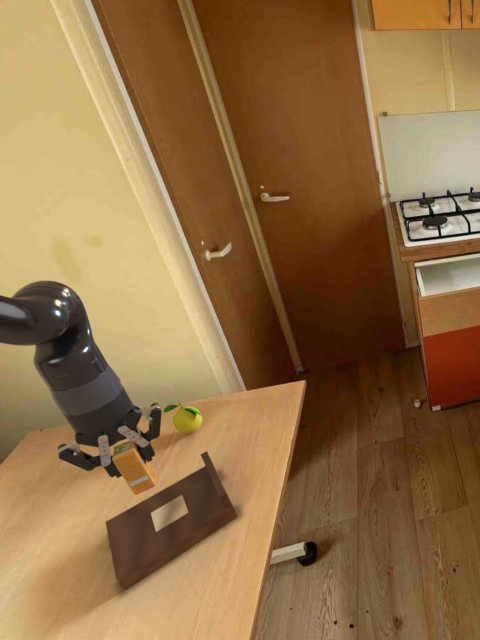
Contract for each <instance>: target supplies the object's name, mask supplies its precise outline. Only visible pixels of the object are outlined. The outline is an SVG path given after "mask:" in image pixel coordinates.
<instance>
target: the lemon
mask: <svg viewBox="0 0 480 640" xmlns="http://www.w3.org/2000/svg"><path fill="white" fill-rule="evenodd" d="M179 406H180V408H179V409H178V410H176V412H175V413H174V414H173V415H174V416H173V419H172V425H173V426H174V428H175V430H176V431H177V432H179V433H180V434H191V433H194V432H195V431H196V430H198V429H199V428H200V427H201V426H202V424H203V415H202V413H201V412H200V410H199V409H197V408H196V407H193V406H182V404H181V401H180V400H179V401H178V404H168V405H166V406H165V407H164V409H163V414H165V413H169V412H171V411H173V410H175V409H177V408H178V407H179Z"/></svg>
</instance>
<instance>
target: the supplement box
mask: <svg viewBox="0 0 480 640" xmlns="http://www.w3.org/2000/svg"><path fill="white" fill-rule="evenodd" d="M112 456H113V457H112V460H113V462H114V464H115V465H116V467H117V468H118V470H119V472H120V473H121V475H122V476H121V477H122V478H123V480H124V481H125V482H126V484H127V485H128V487H129V489H130V490H131V492H132V493H133V495H134V496H137V495H140V494H142V493H145V492H146V491H148V490H151V489H152V488H156V486H157V478H158V477H157V472H156V471H155V469H154V467H153V466H152V464H151V461H150V462H147V460H146V458H145V457H144V455H143V453H142V452H141V450H140V447H139V445H138V444H136V443H135V442H132V441H131V440H127V441H125V442H122V443H120V444H117V445H113V454H112Z"/></svg>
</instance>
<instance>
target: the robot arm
mask: <svg viewBox="0 0 480 640" xmlns="http://www.w3.org/2000/svg"><path fill="white" fill-rule="evenodd" d="M89 319H90V318H89V316H88V312H87V310H86V307H85V305H84V302H83V300H82V299H81V297H80V296H79V295H78V293H77V292H76V291H75V290H73V288H71V287H70V286H69V285H66V284H65V283H62V282H59V281H55V280H37V281H33V282H30V283H27V284H26V285H24V286H22V287H20V288H19V289H18V290H17V291H16V292H15V293H14V294H13V295H12V296H11V297H9V296H5V295H1V294H0V344H3V345H9V346H18V347H19V346H20V347H21V346H22V347H29V346H34V347H35V349H34V355H33V360H32V362H33V363H32V364H33V366H34V368H35V370H36V372H37V374H38V375H39V377H40V378H41V379H42V381H43V383H44V384H45V386H46V387H47V389H48V390H49V392H50V395H51V398H52V400H53V402H54V403H55V405H56V407H57V408H58V409H59V411H60V412H61V413H62V415H63V417H64V418H65V419H66V421H67V422H68V424H69V426H70V427H71V428H72V430H73V431H74V433H75V434H74V438H73V439H72V440H71V441H69V442H68V443H62V444H59V445H58V447H57V454H58V459H59V460H61V461H64V462H66V463H67V464H71V465H73V466H75V467H78V468H80V469H82V470H84V471H86V472H90V471H93V470H95V469H96V468H99V467H102V468H104V470H105V471H106V474H107V475H108V476H109V477H110V478H114V477H116V478H117V479H119V478H121V477H123V476H122V475H121V473H120V472H119V470H118V468H117V467H116V465H115V464H114V462H113V460H112V457H113V454H111V451H110V450H111V449H110V447H112V446H115V445H116V444H117V443H119V442H121V441H124V440H127V439H128V441H130V440H131V441H132V442H135V443H136V444H138V445H139V447H140V450H141V452H142V453H143V455H144V457H145V458H146V460H147V462H150V463H151V462H153V460H154V459H153V457H155V456H156V451H155V448H154V447H153V445H152V444H151V442H152V441H153V440H156V439H158V438H159V437H160V436H161V424H162V409H161V407H160V405H159V403H158V402H153V403H152V404H151V405H150V406H148V407H142V408H140V407H139V406H137V405H135V404H133V402H132V399H131V398H130V396H129V395H128V393H127V391H126V389H125V387H124V386H123V384H122V382H121V379H120V376H118V375H117V374H116V372H115V371H114V369H113V368H112V367H111V366H110V365H109V363H108V362H107V360H106V358H105V357H104V355H103V353H102V351H101V350H100V348H99V346H98V344H96V342H95V339H94V336H93V331H92V327H91V324H90V320H89ZM142 417H145V419H146V420H147V421H148V422H149V423H148V430H146V432H144V431H143V430H142V429H140V428H139V426H138V425H139V423H140V420H141V418H142ZM80 445H82V446H88V447H94V448H98V455H92V454H89V453H87V452H85V451H83V450H81V446H80Z"/></svg>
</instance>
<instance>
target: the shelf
mask: <svg viewBox="0 0 480 640" xmlns="http://www.w3.org/2000/svg"><path fill="white" fill-rule="evenodd" d="M200 457H201V459H202V461H203V463H204V466H203V467H201V468H199V469H197V470H195V471H194V472H192V473H190V474H189V475H187V476H185V477H183V478H181V479H179V480H178V481H176V482H174V483H172V484H171V485H169V486H167V487H165V488H164V489H162V490H160V491H158V492H157V493H154V494H153V495H151V496H149V497H148V498H146V499H143V500H142V501H140V502H139V503H137V504H134V506H131V507H130V508H127V509H126V510H124V511H123V512H121V513H119V514H117V515H115V516H114V517H112V518H110V519H108V520H107V521H105V527H106V532H107V538H108V544H109V548H110V553H111V559H112V565H113V570H114V575H115V579H116V580H117V582H118V583H119V584H120V586H121V587H122V588H123V590H124V591H127V590H129V589H130V588H132V587H133V586H135V585H137V583H139V582H141V581H142V580H144V579H145V578H147V577H149V576H150V575H151V574H153V573H154V572H156V571H157V570H159V569H161V568H162V567H164V566H165V565H167V564H168V563H170V562H171V561H173V560H174V559H176V558H177V557H179V556H180V555H182V554H183V553H185V552H186V551H188V550H190V549H191V548H192V547H194V546H195V545H197V544H199V543H200V542H202V541H203V540H205V539H206V538H208V537H209V536H210V535H212V534H214V533H215V532H217V531H218V530H220V529H222V528H223V527H224V526H226V525H227V524H229V523H231V522H232V521H233V520H235V519H237V518H238V516H239V515H238V514H237V511H236V509H235V508H234V505H233V503H232V501H231V498H230V497H229V495H228V492H227V490H226V488H225V486H224V484H223V481H222V480H221V477H220V475H219V473H218V471H217V469H216V467H215V464H214V462H213V461H212V458H211V456H210V455H209V452H208V451H205V452H202V453H200Z"/></svg>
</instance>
